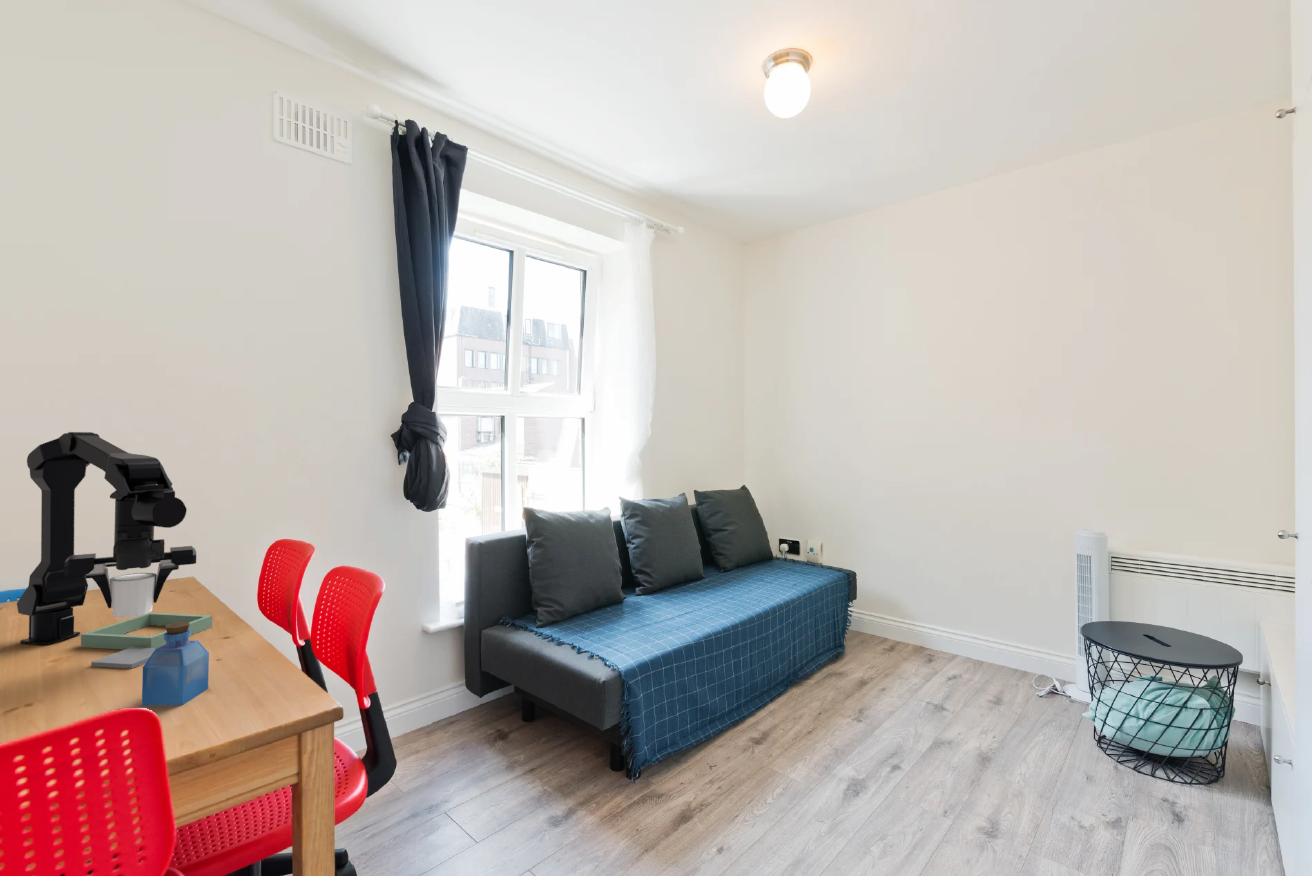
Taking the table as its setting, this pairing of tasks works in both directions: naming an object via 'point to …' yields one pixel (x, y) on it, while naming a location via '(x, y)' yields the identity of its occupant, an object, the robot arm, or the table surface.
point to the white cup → (132, 594)
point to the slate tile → (125, 658)
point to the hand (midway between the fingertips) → (132, 605)
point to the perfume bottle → (175, 669)
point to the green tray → (115, 640)
